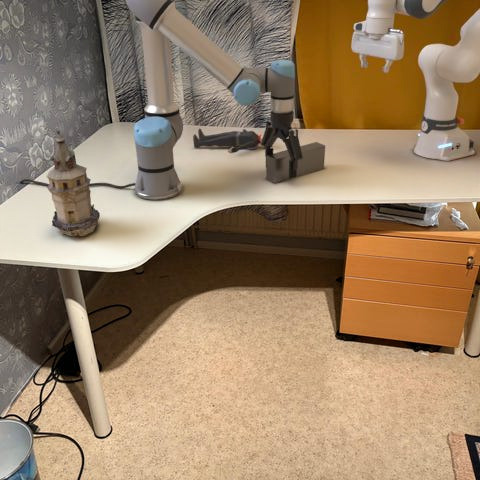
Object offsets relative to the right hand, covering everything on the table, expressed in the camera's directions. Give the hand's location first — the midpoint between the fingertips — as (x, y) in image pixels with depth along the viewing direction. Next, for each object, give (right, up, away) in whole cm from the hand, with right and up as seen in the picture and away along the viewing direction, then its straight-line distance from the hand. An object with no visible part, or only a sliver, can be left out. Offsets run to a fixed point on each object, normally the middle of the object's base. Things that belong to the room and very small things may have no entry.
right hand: (374, 69), depth 182 cm
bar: (-26, -34, +7) cm, 44 cm away
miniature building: (-93, -55, -27) cm, 111 cm away
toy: (-49, -20, +33) cm, 62 cm away
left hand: (-32, -34, +3) cm, 47 cm away
